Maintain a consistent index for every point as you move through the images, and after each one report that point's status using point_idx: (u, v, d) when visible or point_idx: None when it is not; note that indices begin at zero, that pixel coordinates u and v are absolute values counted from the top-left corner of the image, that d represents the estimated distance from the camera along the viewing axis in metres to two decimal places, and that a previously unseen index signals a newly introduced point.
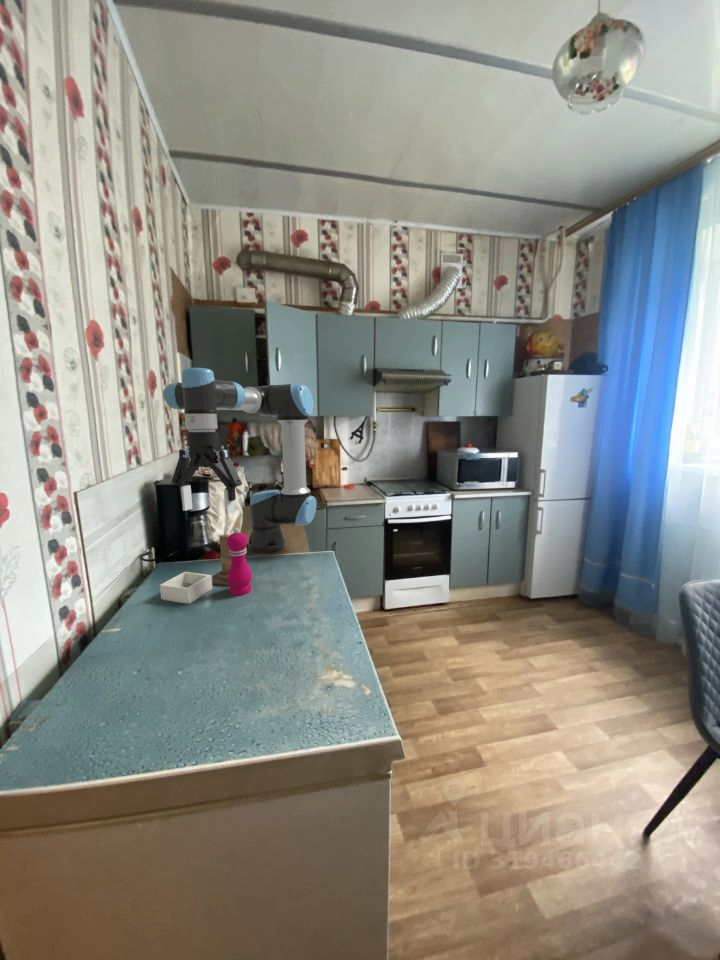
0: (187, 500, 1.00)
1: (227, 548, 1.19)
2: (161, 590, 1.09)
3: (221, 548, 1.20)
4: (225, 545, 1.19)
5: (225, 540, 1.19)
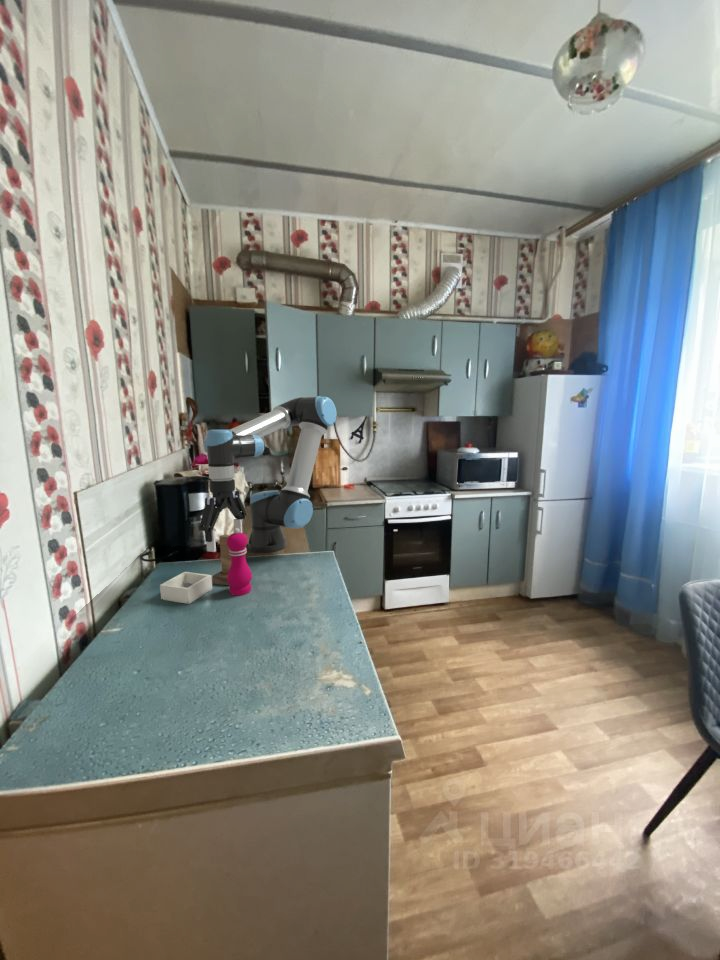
0: None
1: (227, 548, 1.19)
2: (161, 590, 1.09)
3: (221, 548, 1.20)
4: (225, 545, 1.19)
5: (225, 540, 1.19)
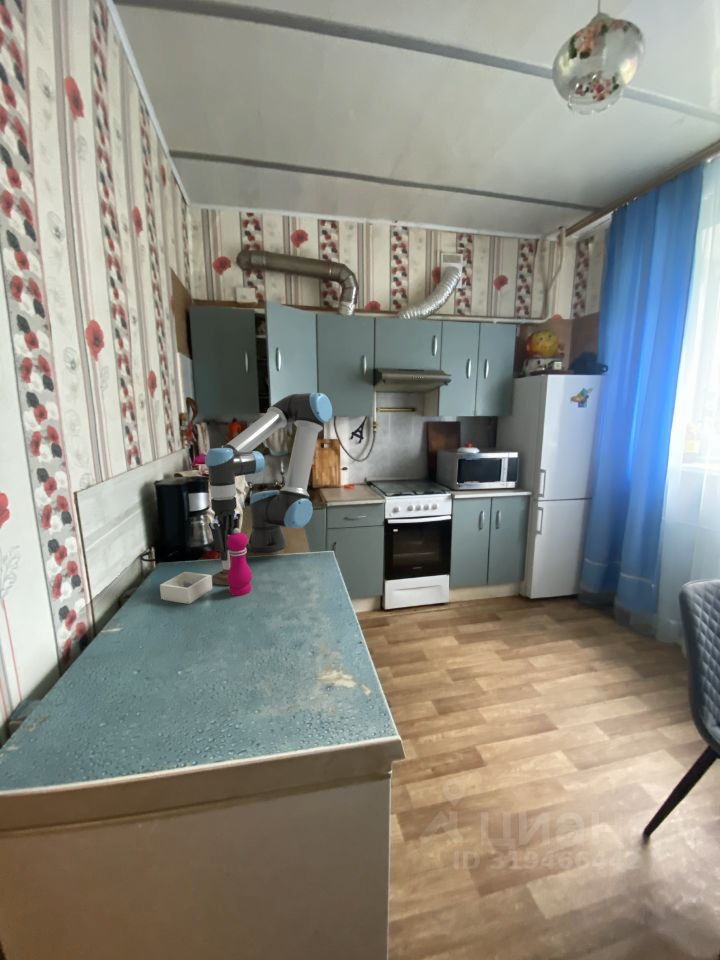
0: None
1: None
2: (161, 590, 1.09)
3: None
4: None
5: None
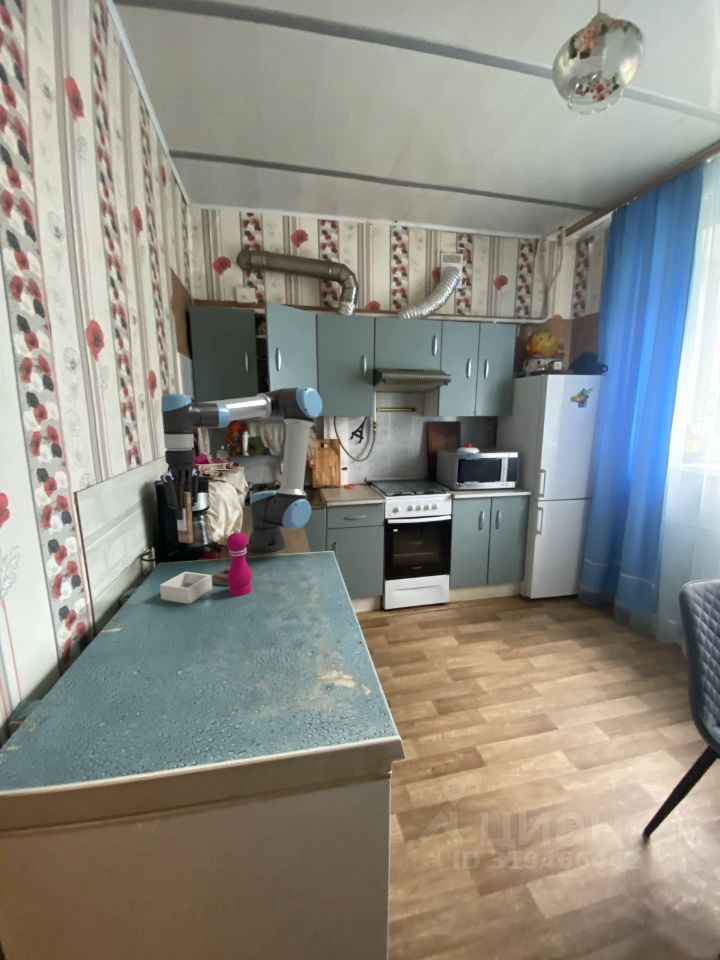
0: None
1: (183, 505, 1.08)
2: (161, 590, 1.09)
3: None
4: None
5: None
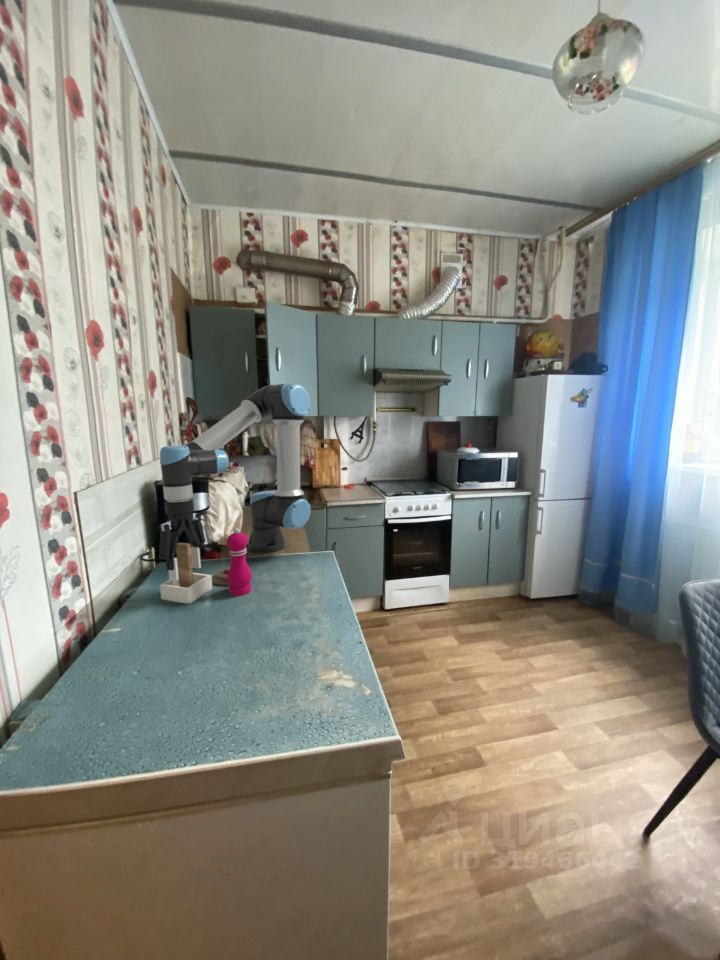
0: (193, 559, 1.15)
1: (184, 557, 1.10)
2: (161, 590, 1.09)
3: (178, 557, 1.10)
4: (182, 554, 1.10)
5: (182, 548, 1.09)
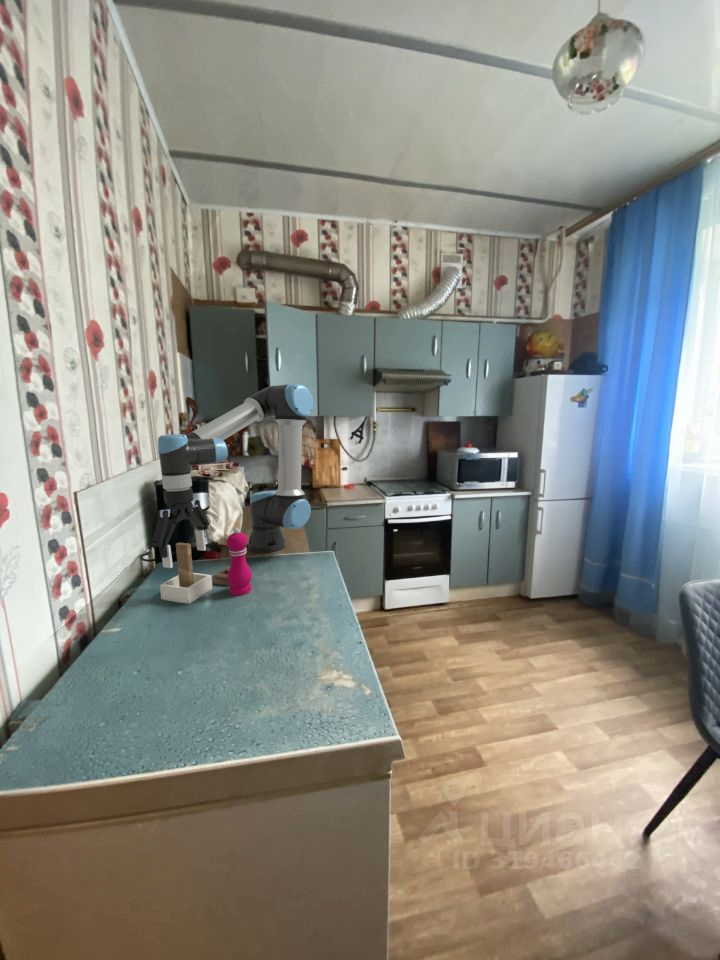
0: (198, 542, 1.17)
1: (184, 557, 1.10)
2: (161, 590, 1.09)
3: (178, 557, 1.10)
4: (182, 554, 1.10)
5: (182, 548, 1.09)
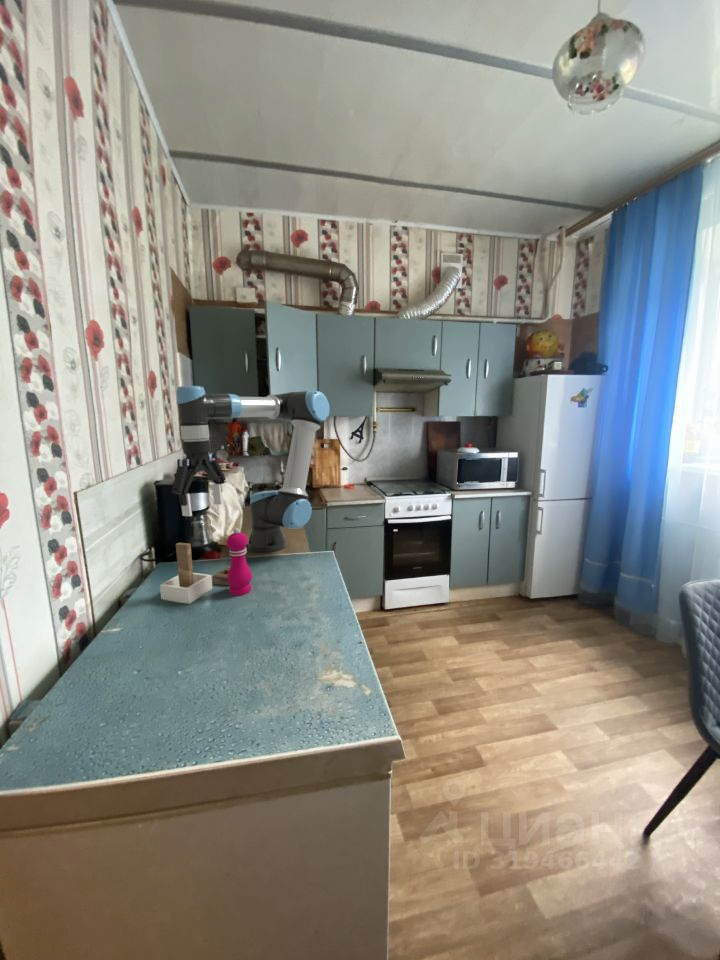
0: (215, 496, 1.19)
1: (184, 557, 1.10)
2: (161, 590, 1.09)
3: (178, 557, 1.10)
4: (182, 554, 1.10)
5: (182, 548, 1.09)
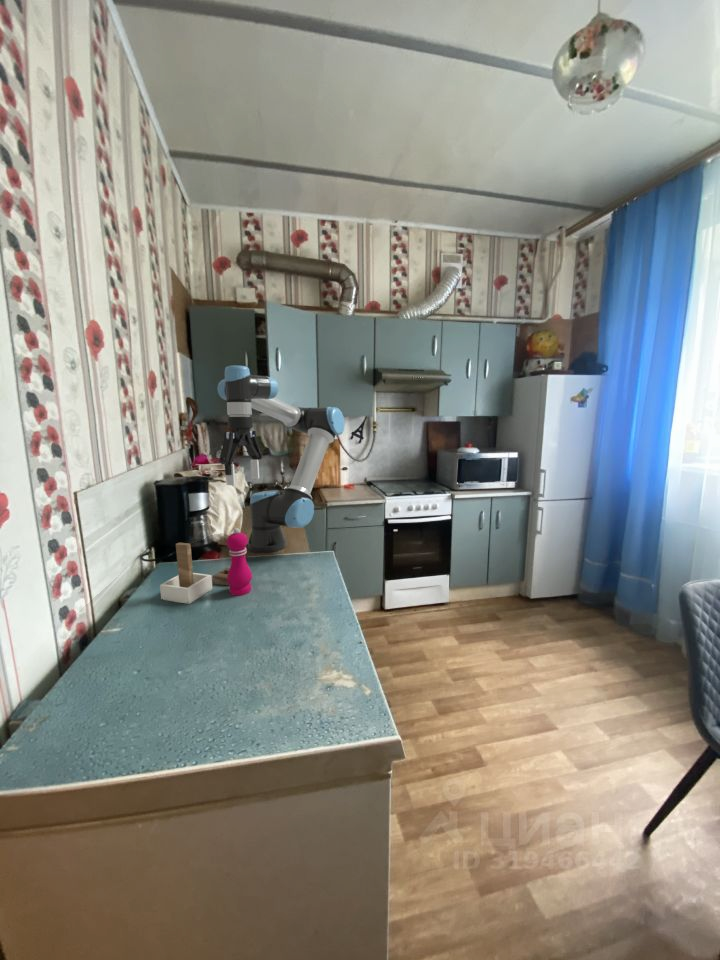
0: (253, 470, 1.28)
1: (184, 557, 1.10)
2: (161, 590, 1.09)
3: (178, 557, 1.10)
4: (182, 554, 1.10)
5: (182, 548, 1.09)
